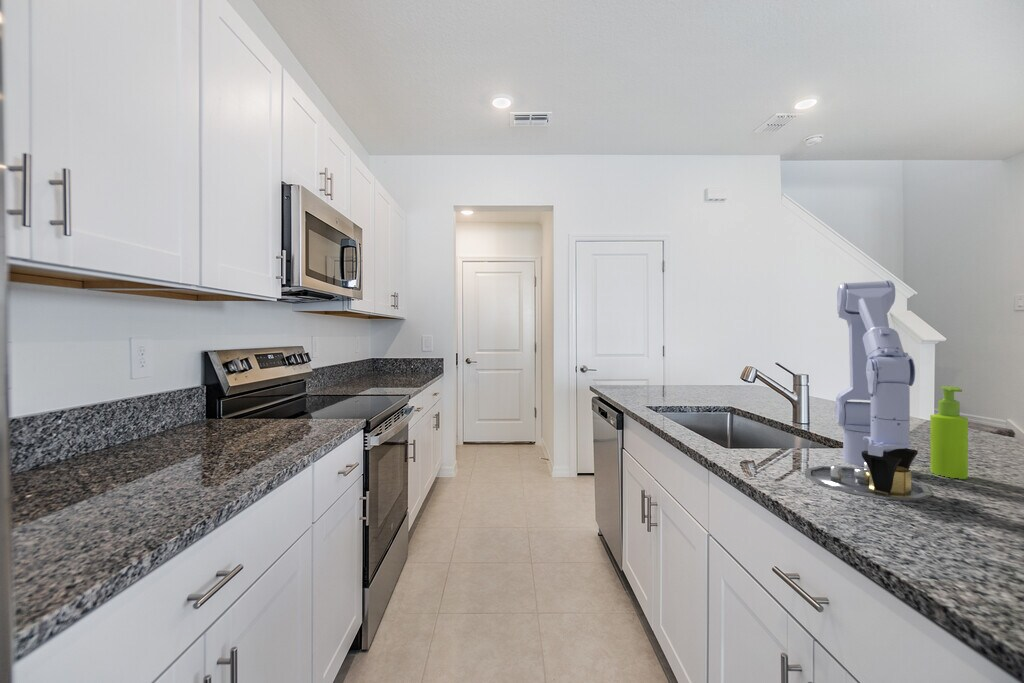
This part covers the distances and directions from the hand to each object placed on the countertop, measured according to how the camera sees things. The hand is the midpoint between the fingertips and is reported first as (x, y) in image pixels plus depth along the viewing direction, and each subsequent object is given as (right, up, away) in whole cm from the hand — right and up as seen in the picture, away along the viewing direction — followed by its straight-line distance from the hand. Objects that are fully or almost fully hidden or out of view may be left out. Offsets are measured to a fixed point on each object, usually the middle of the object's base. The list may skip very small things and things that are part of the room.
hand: (889, 487), depth 83 cm
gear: (0, -1, 0) cm, 1 cm away
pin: (-6, -2, +6) cm, 9 cm away
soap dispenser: (+24, -2, +12) cm, 27 cm away
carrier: (-1, -2, +5) cm, 6 cm away
